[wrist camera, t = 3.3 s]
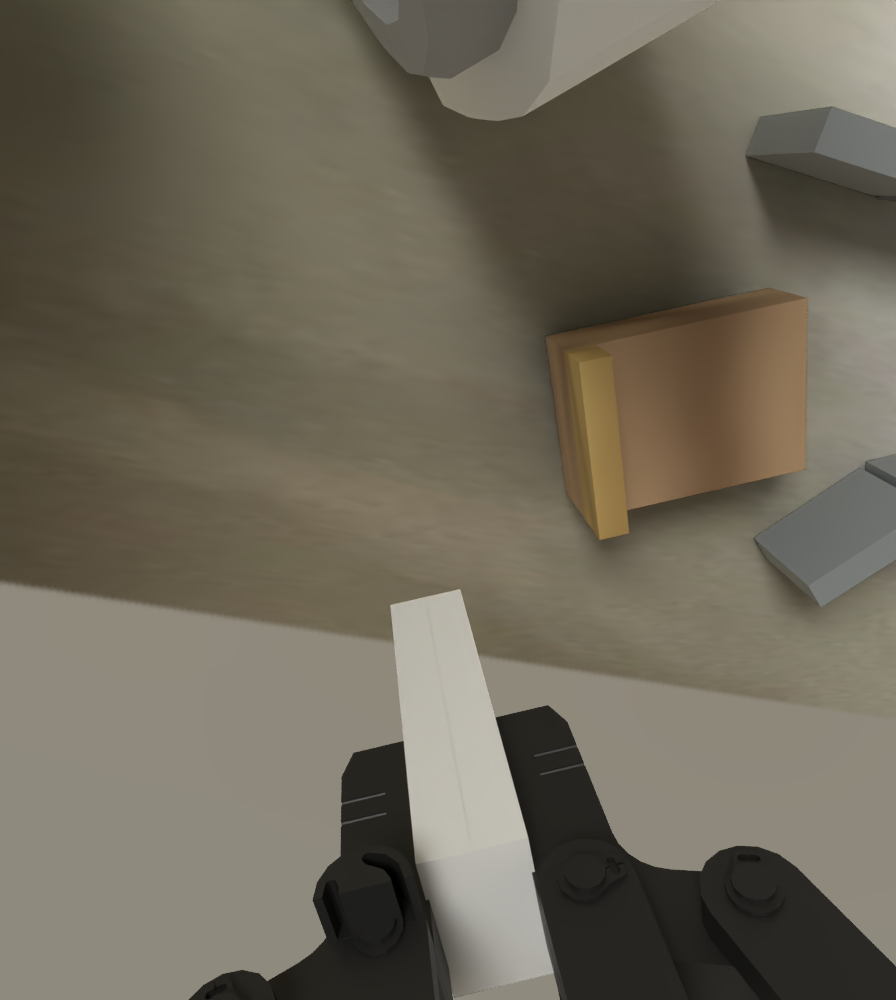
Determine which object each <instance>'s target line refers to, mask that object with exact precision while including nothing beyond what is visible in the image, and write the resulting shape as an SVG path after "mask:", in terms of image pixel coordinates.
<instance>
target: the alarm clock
mask: <svg viewBox="0 0 896 1000" xmlns="http://www.w3.org/2000/svg"><path fill="white" fill-rule="evenodd" d="M719 1H721V0H352V2H353V4H354V5H355V7H356V8H357V10H358V11H359V12H360V14H361V15H362V17H363V18H364V20H365V21H366V23H367V24H368V26H369V27H370V29H371V30H372V31H373V33H374V34H375V36H376V37H377V39H378V40H379V42H380V43H381V45H382V46H383V48H384V49H385V50H386V51H387V52H388V53H389V54H390V55H391V56H392V57H393V58H394V59H395V60H396V61H397V62H398V63H399V64H400V65H401V67H402V68H403V69H404V70H405V71H406V72H407V73H410V74H415V75H421V76H426V77H429V78H430V80H431V82H432V84H433V86H434V88H435V90H436V92H437V94H438V96H439V98H440V100H441V102H442V104H443V106H445V107H447V108H449V109H451V110H454V111H456V112H458V113H460V114H462V115H465V116H467V117H469V118H475V119H483V120H492V121H501V120H507V119H512V118H517V117H522V116H524V115H526V114H528V113H530V112H531V111H533V110H535V109H536V108H538V107H540V106H541V105H543V104H545V103H547V102H548V101H550V100H552V99H553V98H555V97H557V96H559V95H560V94H562V93H564V92H565V91H567V90H569V89H571V88H572V87H574V86H576V85H577V84H579V83H581V82H582V81H584V80H586V79H588V78H589V77H591V76H593V75H594V74H596V73H598V72H600V71H601V70H603V69H605V68H606V67H608V66H610V65H612V64H613V63H615V62H617V61H618V60H620V59H622V58H623V57H625V56H627V55H629V54H630V53H632V52H634V51H635V50H637V49H639V48H641V47H642V46H644V45H646V44H647V43H649V42H651V41H653V40H654V39H656V38H658V37H659V36H661V35H663V34H664V33H666V32H668V31H670V30H671V29H673V28H675V27H676V26H678V25H680V24H682V23H683V22H685V21H687V20H688V19H690V18H692V17H694V16H695V15H697V14H699V13H700V12H702V11H704V10H705V9H707V8H709V7H711V6H712V5H714V4H716V3H717V2H719Z"/></svg>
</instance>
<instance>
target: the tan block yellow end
mask: <svg viewBox="0 0 896 1000" xmlns="http://www.w3.org/2000/svg"><path fill="white" fill-rule="evenodd" d="M546 344H547V351H548V359H549V366H550V373H551V381H552V388H553V396H554V403H555V411H556V418H557V426H558V433H559V441H560V448H561V456H562V463H563V471H564V478H565V486H566V493H567V495H568V496H569V498H570V499H571V500H572V502H573V503H574V505H575V506H576V507H577V509H578V510H579V512H580V513H581V514H582V516H583V517H584V519H585V520H586V521H587V523H588V524H589V526H590V527H591V529H592V530H593V531H594V533H595V534H596V536H597V537H598V538H599V540H602V539H607V538H611V537H615V536H620V535H624V534H628V533H629V527H628V517H627V510H630V509H635V508H639V507H643V506H648V505H652V504H657V503H661V502H665V501H670V500H674V499H678V498H683V497H687V496H691V495H696V494H700V493H705V492H709V491H713V490H718V489H722V488H726V487H731V486H735V485H739V484H744V483H748V482H753V481H757V480H761V479H766V478H770V477H774V476H779V475H783V474H787V473H792V472H796V471H801V470H805V468H806V378H807V298H806V297H802V296H798V295H794V294H790V293H786V292H782V291H779V290H775V289H771V288H766V289H761V290H757V291H752V292H751V291H749V292H745V293H740V294H735V295H731V296H726V297H722V298H717V299H712V300H708V301H703V302H699V303H694V304H689V305H685V306H680V307H676V308H671V309H667V310H662V311H657V312H653V313H648V314H644V315H639V316H634V317H630V318H625V319H621V320H616V321H612V322H607V323H602V324H598V325H593V326H589V327H584V328H579V329H575V330H570V331H566V332H561V333H557V334H552V335H547V336H546Z"/></svg>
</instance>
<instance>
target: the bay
mask: <svg viewBox="0 0 896 1000" xmlns="http://www.w3.org/2000/svg"><path fill="white" fill-rule="evenodd" d="M746 156H748V157H751V158H754V159H758V160H761V161H764V162H767V163H770V164H774V165H777V166H780V167H783V168H786V169H790V170H793V171H796V172H799V173H802V174H806V175H809V176H812V177H815V178H818V179H822V180H825V181H828V182H831V183H834V184H838V185H841V186H844V187H847V188H850V189H854V190H857V191H860V192H863V193H866V194H870V195H879V199H878V200H890V201H896V128H894V127H891V126H888V125H885V124H882V123H879V122H876V121H874V120H871V119H868V118H865V117H862V116H859V115H856V114H853V113H850V112H847V111H844V110H841V109H838V108H835V107H825V108H818V109H811V110H804V111H797V112H791V113H784V114H777V115H770V116H763V117H760V118H759V121H758V123H757V126H756V129H755V132H754V134H753V137H752V140H751V143H750V146H749V148H748V151H747V154H746ZM754 539H755V541H756V543H757V544H758V546H759V548H760V549H761V551H762V553H763V554H764V556H765V558H766V559H768V560H769V561H770V562H771V563H772V564H773V565H774V566H775V567H776V568H778V569H779V570H780V571H781V572H782V573H783V574H784V575H785V576H786V577H788V578H789V579H790V580H791V581H792V582H793V583H794V584H795V585H796V586H798V587H799V588H800V589H801V590H802V591H803V592H804V593H805V594H806V595H808V596H809V597H810V598H811V599H812V600H813V601H814V602H815V603H816V604H818V605H819V606H820V607H822V606H824V605H826V604H827V603H829V602H830V601H832V600H833V599H835V598H837V597H838V596H840V595H841V594H843V593H844V592H846V591H847V590H849V589H851V588H852V587H854V586H855V585H857V584H858V583H860V582H862V581H863V580H865V579H866V578H868V577H869V576H871V575H872V574H874V573H876V572H877V571H879V570H880V569H882V568H883V567H885V566H887V565H888V564H890V563H891V562H893V561H894V560H896V455H892V456H888V457H883V458H879V459H875V460H870V461H866V471H865V470H863V469H861V468H858V469H857V470H855V471H854V472H852V473H851V474H849V475H848V476H846V477H845V478H843V479H842V480H840V481H839V482H837V483H836V484H834V485H833V486H831V487H830V488H828V489H827V490H825V491H824V492H822V493H821V494H819V495H818V496H816V497H815V498H813V499H812V500H810V501H809V502H807V503H806V504H804V505H803V506H801V507H800V508H798V509H797V510H795V511H794V512H792V513H791V514H789V515H788V516H786V517H785V518H783V519H782V520H780V521H779V522H777V523H776V524H774V525H773V526H771V527H770V528H768V529H766V530H765V531H763V532H762V533H760V534H759V535H757V536H756V537H754Z"/></svg>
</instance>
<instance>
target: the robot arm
mask: <svg viewBox="0 0 896 1000" xmlns="http://www.w3.org/2000/svg"><path fill="white" fill-rule="evenodd" d="M390 606H391V616H392V627H393V637H394V647H395V657H396V667H397V678H398V688H399V699H400V709H401V719H402V729H403V740H404V741H402V742H398V743H394V744H389V745H385V746H381V747H377V748H372V749H369V750H364V751H360V752H355V753H353V755H352V757H351V759H350V761H349V763H348V765H347V767H346V769H345V772H344V773H343V776H342V796H341V802H342V807H341V823H342V827H341V857H339V858H338V859H337V860H336V861H334V862H333V863H332V864H330V865H329V866H328V867H327V869H326V870H325V872H324V873H323V875H322V876H321V878H320V879H319V881H318V882H317V885H316V889H315V893H314V897H313V902H314V905H315V908H316V910H317V913H318V916H319V918H320V921H321V924H322V926H323V929H324V932H325V934H326V939H325V940H324V942H323V943H322V944H321V945H320V946H319V947H318V948H317V949H316V950H315V951H314V952H313V953H312V954H311V955H309V956H308V957H306V958H305V959H303V960H302V961H301V962H299V963H298V964H296V965H294V966H293V967H291V968H289V969H287V970H286V971H284V972H282V973H281V974H279V975H277V976H275V977H274V978H272V979H270V980H269V981H266V980H265V979H264V978H263V977H262V976H261V975H260V974H258V973H253V972H248V971H244V970H240V971H236V972H230V973H226V974H222V975H220V976H219V977H217V978H215V979H213V980H212V981H210V982H208V983H206V984H205V985H203V986H202V987H201V988H200V989H199V990H198V991H197V992H196V993H195V994H194V995H193V996H192V997H191V998H190V999H189V1000H453V997H452V992H453V996H454V998H456V997H460V996H464V995H468V994H472V993H476V992H480V991H484V990H488V989H492V988H496V987H500V986H504V985H508V984H512V983H516V982H520V981H524V980H528V979H532V978H536V977H540V976H544V975H548V974H552V973H554V975H555V979H556V983H557V987H558V991H559V996H560V1000H896V966H895V965H894V964H893V963H892V962H891V961H890V960H889V959H888V958H887V957H886V956H885V955H884V954H883V953H882V952H881V951H880V950H879V949H878V948H877V947H876V946H875V945H874V944H873V943H872V942H871V941H870V940H869V939H868V938H867V937H866V936H865V935H864V934H863V933H862V932H861V931H860V930H859V929H858V928H857V927H856V926H855V925H854V924H853V923H852V922H851V921H850V920H849V919H848V918H847V917H846V916H845V915H844V914H843V913H842V912H841V911H840V910H839V909H838V908H837V907H836V906H835V905H834V904H833V903H832V902H831V901H830V900H829V899H828V898H827V897H826V896H825V895H824V894H823V893H821V891H820V890H819V889H818V888H817V887H816V886H815V885H814V884H812V883H811V881H810V880H808V878H807V877H806V876H805V875H804V874H803V873H802V872H800V871H799V869H798V868H797V867H795V866H794V865H793V864H791V863H790V862H789V861H787V860H786V859H784V858H783V857H781V856H780V855H779V854H777V853H773V852H771V851H768V850H765V849H762V848H760V847H750V846H735V847H731V848H728V849H725V850H721V851H719V852H718V853H716V854H715V855H714V856H713V857H711V858H710V859H709V860H708V861H706V863H705V865H704V868H703V870H702V871H686V870H670V869H664V868H658V867H654V866H651V865H648V864H646V863H643V862H640V861H639V860H637V859H636V858H634V857H633V856H631V855H630V854H628V853H627V852H626V851H625V850H624V849H623V848H622V847H621V846H620V845H619V844H618V842H617V840H616V839H615V837H614V835H613V833H612V831H611V829H610V826H609V824H608V821H607V819H606V816H605V814H604V811H603V809H602V806H601V804H600V802H599V799H598V797H597V795H596V792H595V789H594V787H593V784H592V782H591V779H590V777H589V774H588V772H587V770H586V767H585V766H584V762H583V760H582V757H581V755H580V752H579V750H578V748H577V746H576V742H575V740H574V737H573V735H572V733H571V730H570V728H569V725H568V723H567V722H566V720H565V719H563V718H562V717H561V716H560V715H559V714H558V713H556V712H555V711H554V710H553V709H551V707H549V706H548V705H547V706H543V707H538V708H534V709H530V710H526V711H521V712H517V713H513V714H509V715H504V716H501V717H497V718H495V715H494V712H493V707H492V704H491V700H490V697H489V693H488V689H487V686H486V682H485V678H484V675H483V671H482V667H481V664H480V660H479V656H478V653H477V649H476V645H475V642H474V638H473V634H472V631H471V627H470V623H469V620H468V616H467V613H466V609H465V605H464V602H463V598H462V594H461V591H460V589H459V590H454V591H450V592H445V593H441V594H437V595H432V596H428V597H424V598H419V599H415V600H410V601H406V602H402V603H397V604H393V605H390Z"/></svg>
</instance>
